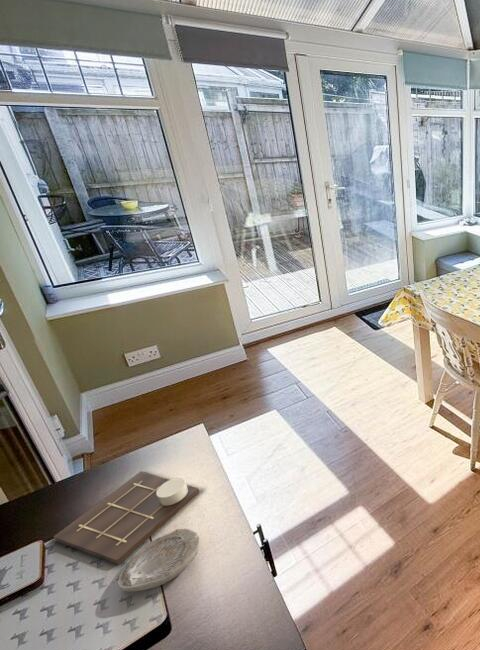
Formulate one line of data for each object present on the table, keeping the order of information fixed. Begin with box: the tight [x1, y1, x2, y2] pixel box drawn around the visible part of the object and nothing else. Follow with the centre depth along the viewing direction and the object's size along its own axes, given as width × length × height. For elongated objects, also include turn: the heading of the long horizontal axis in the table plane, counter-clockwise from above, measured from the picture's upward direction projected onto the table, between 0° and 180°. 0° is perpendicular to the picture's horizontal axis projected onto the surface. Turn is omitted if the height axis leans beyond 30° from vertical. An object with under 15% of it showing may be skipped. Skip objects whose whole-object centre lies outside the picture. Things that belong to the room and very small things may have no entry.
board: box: [53, 470, 200, 565], centre depth 83 cm, size 16×16×1 cm
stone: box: [156, 477, 188, 506], centre depth 86 cm, size 5×5×2 cm
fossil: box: [117, 528, 200, 592], centre depth 74 cm, size 10×12×3 cm
